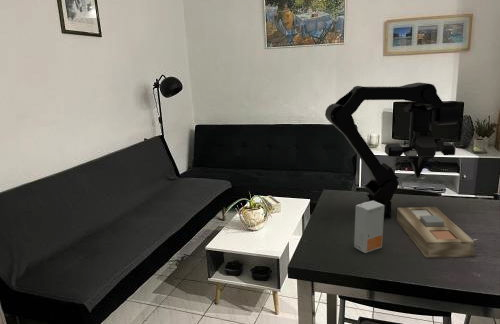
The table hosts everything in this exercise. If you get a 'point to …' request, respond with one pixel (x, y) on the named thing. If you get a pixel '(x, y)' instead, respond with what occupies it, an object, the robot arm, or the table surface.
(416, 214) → the offwhite key
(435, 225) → the grey key
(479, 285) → the table surface
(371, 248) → the skincare box
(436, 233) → the terracotta key
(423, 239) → the wooden slotted tray
